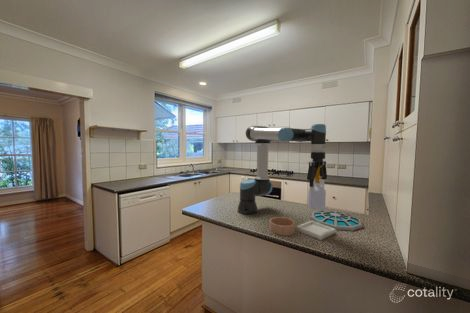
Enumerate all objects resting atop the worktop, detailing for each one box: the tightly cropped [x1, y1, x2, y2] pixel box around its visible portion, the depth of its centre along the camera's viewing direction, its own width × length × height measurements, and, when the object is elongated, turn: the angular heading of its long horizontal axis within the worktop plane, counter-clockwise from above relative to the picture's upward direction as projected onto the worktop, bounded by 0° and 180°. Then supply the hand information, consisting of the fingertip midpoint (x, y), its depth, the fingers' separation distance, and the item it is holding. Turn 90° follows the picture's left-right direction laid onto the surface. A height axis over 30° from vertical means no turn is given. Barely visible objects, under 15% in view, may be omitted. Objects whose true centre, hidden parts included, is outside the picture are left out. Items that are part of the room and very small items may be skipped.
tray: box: [296, 220, 336, 242], centre depth 110 cm, size 15×15×2 cm
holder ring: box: [268, 216, 296, 236], centre depth 112 cm, size 14×14×5 cm
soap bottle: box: [307, 165, 327, 211], centre depth 109 cm, size 9×9×25 cm
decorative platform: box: [310, 210, 364, 232], centre depth 127 cm, size 31×29×5 cm
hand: (316, 191), depth 109 cm, fingers closed on soap bottle, 9 cm apart
